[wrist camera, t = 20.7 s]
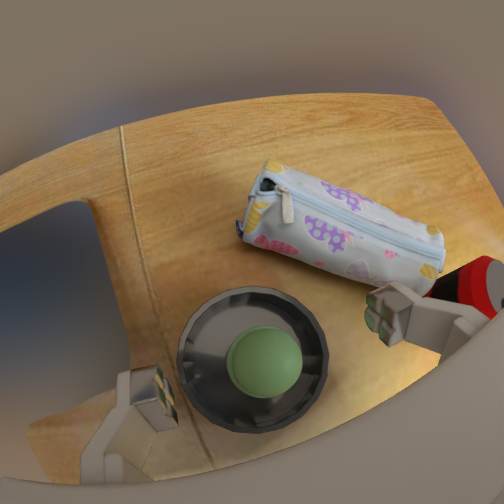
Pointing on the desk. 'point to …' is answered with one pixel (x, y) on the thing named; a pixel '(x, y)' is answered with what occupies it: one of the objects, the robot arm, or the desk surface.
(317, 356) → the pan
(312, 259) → the pencil case
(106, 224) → the desk surface
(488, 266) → the soda can
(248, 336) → the green dome-topped cylinder
